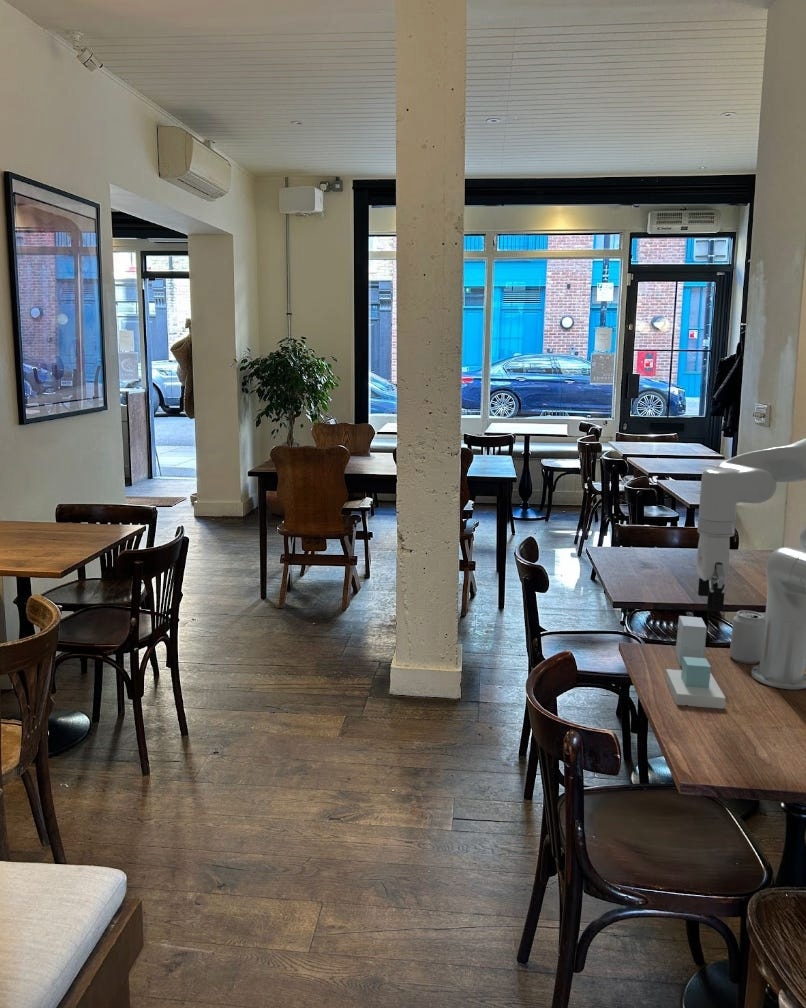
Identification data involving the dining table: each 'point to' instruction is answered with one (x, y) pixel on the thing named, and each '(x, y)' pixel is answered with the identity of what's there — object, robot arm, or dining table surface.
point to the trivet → (694, 692)
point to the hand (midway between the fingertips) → (710, 602)
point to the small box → (690, 638)
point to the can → (747, 637)
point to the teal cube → (695, 672)
